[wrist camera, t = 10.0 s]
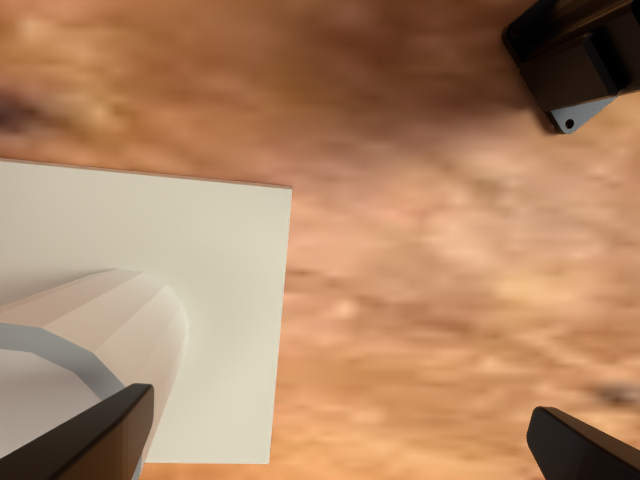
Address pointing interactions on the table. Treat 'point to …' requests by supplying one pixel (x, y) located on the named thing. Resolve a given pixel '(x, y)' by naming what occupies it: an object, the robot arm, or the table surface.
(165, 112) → the table surface
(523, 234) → the table surface
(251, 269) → the base block
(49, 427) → the white cup
